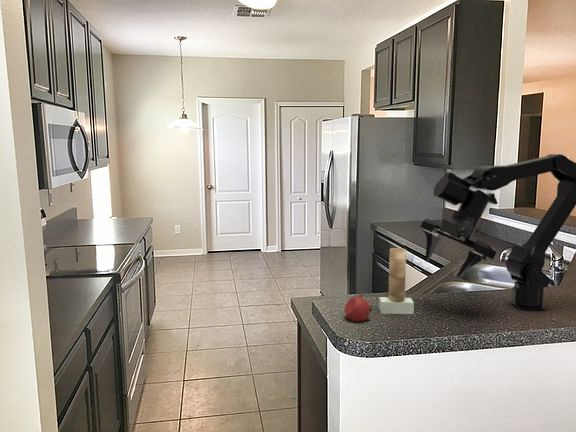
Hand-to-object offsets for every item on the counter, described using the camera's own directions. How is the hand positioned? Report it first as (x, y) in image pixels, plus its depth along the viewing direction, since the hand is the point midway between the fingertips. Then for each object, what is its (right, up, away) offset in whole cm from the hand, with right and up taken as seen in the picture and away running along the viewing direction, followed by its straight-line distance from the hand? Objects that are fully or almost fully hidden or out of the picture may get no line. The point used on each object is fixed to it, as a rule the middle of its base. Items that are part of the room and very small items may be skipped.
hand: (441, 269), depth 124 cm
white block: (-11, -11, +1) cm, 16 cm away
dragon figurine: (-19, -11, +1) cm, 22 cm away
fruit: (-21, -12, -5) cm, 24 cm away
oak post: (-11, -8, 0) cm, 14 cm away
